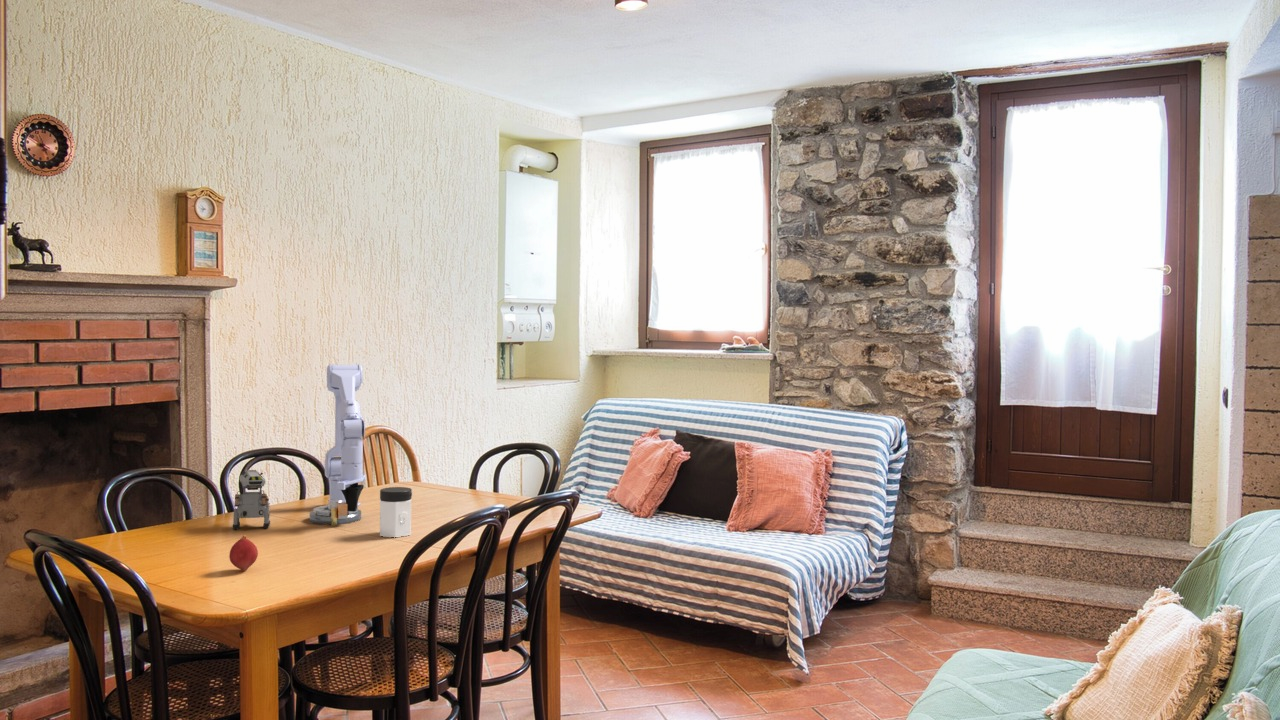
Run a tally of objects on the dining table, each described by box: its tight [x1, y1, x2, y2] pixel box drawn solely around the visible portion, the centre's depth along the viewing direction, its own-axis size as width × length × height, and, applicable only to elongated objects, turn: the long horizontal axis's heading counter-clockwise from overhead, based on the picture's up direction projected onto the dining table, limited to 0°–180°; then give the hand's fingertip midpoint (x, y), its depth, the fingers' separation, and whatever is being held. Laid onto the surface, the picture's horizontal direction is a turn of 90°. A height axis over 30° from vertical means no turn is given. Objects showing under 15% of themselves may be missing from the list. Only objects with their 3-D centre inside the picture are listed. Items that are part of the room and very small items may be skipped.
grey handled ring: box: [312, 502, 359, 519], centre depth 257 cm, size 16×12×4 cm
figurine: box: [232, 469, 271, 531], centre depth 248 cm, size 9×12×15 cm
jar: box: [379, 486, 413, 539], centre depth 242 cm, size 9×8×12 cm
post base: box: [308, 499, 362, 525], centre depth 259 cm, size 14×14×6 cm
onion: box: [228, 534, 259, 572], centre depth 203 cm, size 6×6×8 cm
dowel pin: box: [330, 508, 338, 527], centre depth 251 cm, size 2×2×5 cm
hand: (351, 511), depth 253 cm, fingers closed, pressing on grey handled ring
